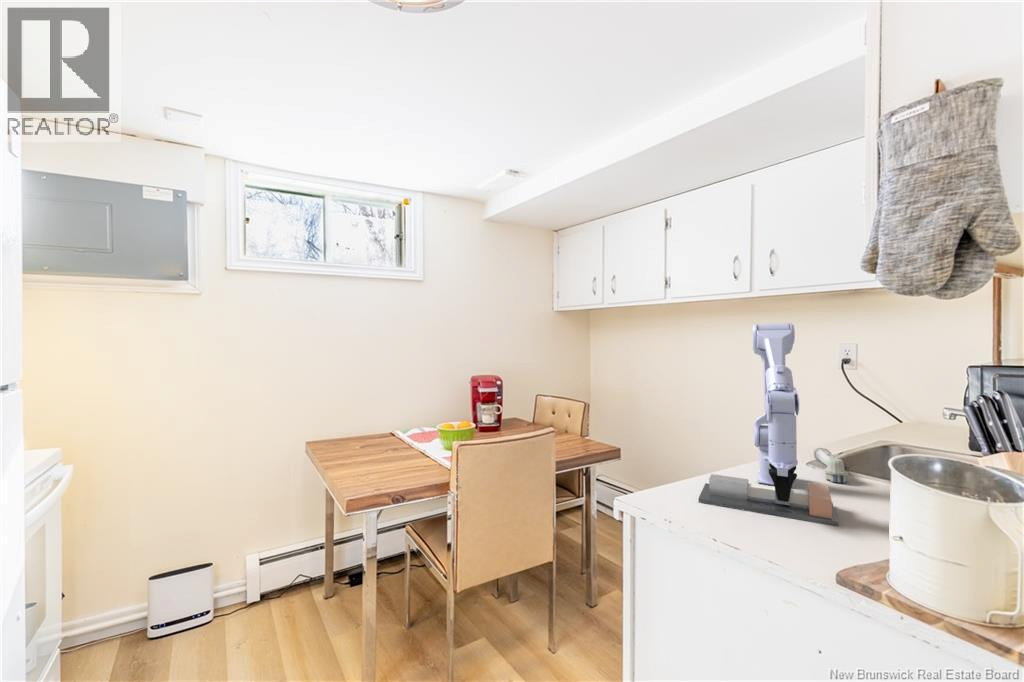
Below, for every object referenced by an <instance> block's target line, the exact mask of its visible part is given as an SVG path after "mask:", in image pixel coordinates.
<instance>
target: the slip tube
mask: <svg viewBox="0 0 1024 682" xmlns="http://www.w3.org/2000/svg"><path fill="white" fill-rule="evenodd" d="M747 496H751V497H757V498H763V499H770V500H775V503H777V504H784V505H790V503H795V504H802V505H808V506H809V492H807V491H805V490H797V489H791V492H790V497H789V500H788V502H785V501H779V500H778V499H777V496H776V491H775V486H771V485H770V486H768V485H764V484H763V485H761V484H755V483H749V482H748V484H747Z"/></svg>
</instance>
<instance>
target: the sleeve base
mask: <svg viewBox="0 0 1024 682" xmlns="http://www.w3.org/2000/svg"><path fill="white" fill-rule="evenodd" d="M708 480H709V481H708V483H704V485H703V488H702V490H701V492H700V494H699V496H698V503H700V502H704V503H703V504H706V503H709V504H708V505H712V504H716V505H715V506H718V505H722V506H721V507H724V506H727V507H726V508H730V507H733V508H732V509H735V508H738V509H737V510H741V509H744V511H747V510H749V512H753V511H754V512H753V513H759V514H760V513H761V514H765V515H769V516H771V515H772V516H778V517H783V518H790V519H796V520H800V521H805V522H812V523H818V524H824V525H830V526H834V527H835V526H836V527H839V520H838V517H837V513H836V510H835V506H834V503H833V502H832V519H830V518H824V517H818V516H812V515H810V514H809V507H808V505H802V504H795V503H790V505H784V504H777V503H775V500H770V499H763V498H757V497H751V496H747V484H748V483H749V479H748V478H742V477H736V476H735V477H734V476H727V475H719V474H713V473H712V474H710V476H709V479H708Z"/></svg>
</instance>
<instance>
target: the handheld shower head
mask: <svg viewBox="0 0 1024 682" xmlns="http://www.w3.org/2000/svg"><path fill="white" fill-rule="evenodd" d="M813 456H814V458H815V459H816V460H817V461H818V462H820V463H823V464H824V465H825V466H826V468H823V472H824V474H825V480H826V481H829V480H830V482H832V483H833V482H834V483H846V482H848V479H847V476H848V475H849V472H848V471H846V470H845V464H844V461H843V460H842V459H839V458H835V457H834V456H833V455H832V452H831V451H830V450H829V449H827V448H825V447H824V448H823V447H817V448H816V449H814V450H813Z"/></svg>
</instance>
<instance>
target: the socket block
mask: <svg viewBox="0 0 1024 682" xmlns="http://www.w3.org/2000/svg"><path fill="white" fill-rule="evenodd" d="M806 486H807V490H806V492H809V506H808V507H809V514H810V515H812V516H818V517H824V518H830V519H832V503H833V500H832V497H831V493H830V490H829V486H828V485H827V484H819V483H813V482H807V483H806Z"/></svg>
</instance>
